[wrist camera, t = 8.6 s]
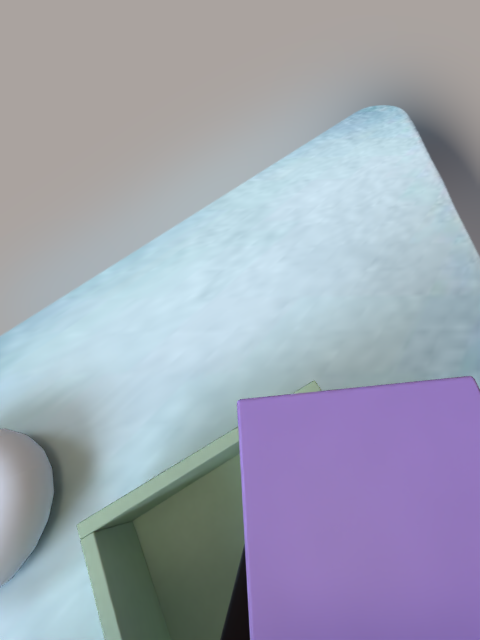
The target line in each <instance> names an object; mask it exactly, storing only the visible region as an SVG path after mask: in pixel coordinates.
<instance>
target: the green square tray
mask: <svg viewBox="0 0 480 640" xmlns="http://www.w3.org/2000/svg"><path fill="white" fill-rule="evenodd" d="M317 391H321V389H320V387H319V386H318V385H317V383H316V382H315V381H312V382H311V383H309V384H307V385H306V386H304V387H302V388H301V389H299V390H298V391H296V392H294V393H293V394H297V393H307V392H317ZM77 529H78V533H79V537H80V539H81V545H82V549H83V553H84V557H85V562H86V566H87V570H88V574H89V578H90V582H91V586H92V590H93V594H94V598H95V602H96V606H97V610H98V614H99V618H100V622H101V626H102V630H103V635H104V639H105V640H220V638H221V634H222V630H223V626H224V622H225V619H226V615H227V611H228V607H229V603H230V599H231V595H232V591H233V587H234V583H235V579H236V575H237V571H238V567H239V563H240V559H241V555H242V551H243V547H244V544H245V539H244V521H243V503H242V485H241V467H240V449H239V430H238V427H237V428H235V429H233V430H232V431H230V432H228V433H227V434H225V435H223V436H222V437H220V438H219V439H217V440H215V441H214V442H212V443H210V444H209V445H207V446H205V447H204V448H202V449H200V450H199V451H197V452H195V453H194V454H192V455H191V456H189V457H187V458H186V459H184V460H182V461H181V462H179V463H177V464H176V465H174V466H172V467H171V468H169V469H167V470H166V471H164V472H163V473H161V474H159V475H158V476H156V477H154V478H153V479H151V480H149V481H148V482H146V483H144V484H143V485H141V486H139V487H138V488H136V489H135V490H133V491H131V492H130V493H128V494H126V495H125V496H123V497H121V498H120V499H118V500H116V501H115V502H113V503H111V504H110V505H108V506H107V507H105V508H103V509H102V510H100V511H98V512H97V513H95V514H93V515H92V516H90V517H88V518H87V519H85V520H84V521H82V522H80V523H79V524H77Z"/></svg>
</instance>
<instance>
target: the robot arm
mask: <svg viewBox="0 0 480 640" xmlns="http://www.w3.org/2000/svg"><path fill="white" fill-rule="evenodd" d="M220 640H250V629H249V611H248V593H247V575H246V557H245V544H244V547H243V551H242V555H241V559H240V563H239V567H238V571H237V575H236V579H235V583H234V587H233V591H232V595H231V599H230V603H229V607H228V611H227V615H226V619H225V622H224V626H223V630H222V634H221V638H220Z"/></svg>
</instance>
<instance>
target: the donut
mask: <svg viewBox="0 0 480 640" xmlns="http://www.w3.org/2000/svg"><path fill="white" fill-rule="evenodd" d="M53 495H54V485H53V472H52V467H51V465H50V462H49V460H48V458H47V456H46V454H45V452H44V449H43V448H42V447H41V446H39V445H38V444H37V443H36V442H35V441H34V440H33V439H31V438H30V437H29V436H27V435H26V434H22V433H19V432H16V431H12V430H9V429H0V587H1V586H3V585H4V584H5V583H6V582H7V581H9V580H10V579H11V578H12V577H13V576H14V575H15V573H16V572H17V571H18V570H19V568H20V567H21V566H22V564H23V563H24V562H25V560H26V559H27V558H28V557H29V555H30V554H31V553H32V551H33V550H34V548H35V547H36V545H37V543H38V540H39V538H40V536H41V534H42V532H43V530H44V528H45V526H46V523H47V521H48V519H49V515H50V510H51V505H52V500H53Z"/></svg>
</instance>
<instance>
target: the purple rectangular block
mask: <svg viewBox="0 0 480 640" xmlns="http://www.w3.org/2000/svg"><path fill="white" fill-rule="evenodd" d="M237 412H238V430H239V449H240V467H241V485H242V503H243V521H244V539H245V557H246V575H247V593H248V611H249V629H250V640H480V389H479V387H478V385H477V383H476V381H475V379H474V378H473V377H471V376H464V377H455V378H445V379H435V380H425V381H415V382H405V383H396V384H386V385H376V386H366V387H356V388H346V389H337V390H327V391H317V392H307V393H297V394H287V395H278V396H268V397H258V398H248V399H240V400H238V402H237Z"/></svg>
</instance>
